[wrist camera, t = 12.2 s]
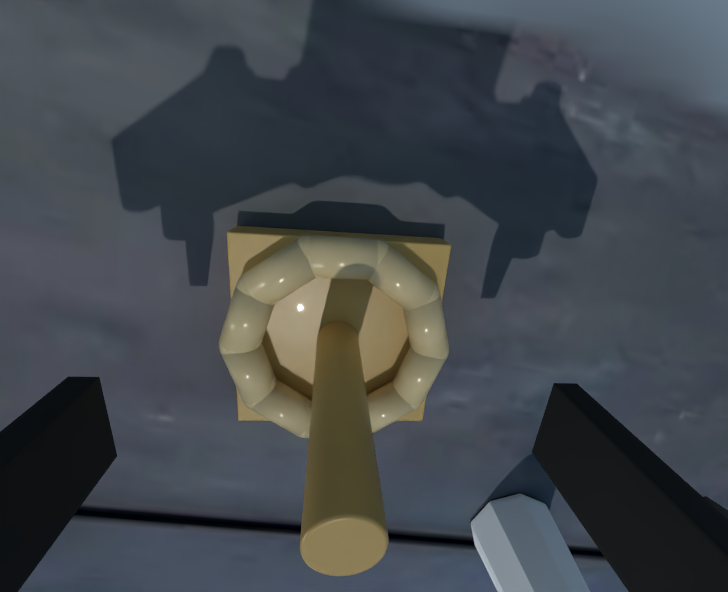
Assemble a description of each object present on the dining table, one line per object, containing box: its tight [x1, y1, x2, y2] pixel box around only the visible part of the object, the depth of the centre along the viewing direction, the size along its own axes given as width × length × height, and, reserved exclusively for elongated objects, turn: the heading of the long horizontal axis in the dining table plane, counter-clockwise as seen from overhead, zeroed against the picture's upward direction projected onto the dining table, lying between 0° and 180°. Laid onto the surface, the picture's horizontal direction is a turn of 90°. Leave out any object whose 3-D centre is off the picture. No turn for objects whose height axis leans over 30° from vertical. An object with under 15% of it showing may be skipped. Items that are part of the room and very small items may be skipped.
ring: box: [219, 235, 449, 438], centre depth 15 cm, size 9×10×2 cm
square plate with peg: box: [227, 226, 451, 576], centre depth 12 cm, size 9×9×10 cm
